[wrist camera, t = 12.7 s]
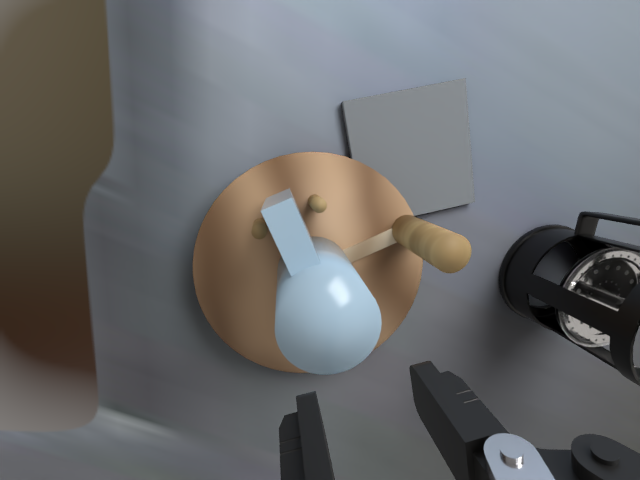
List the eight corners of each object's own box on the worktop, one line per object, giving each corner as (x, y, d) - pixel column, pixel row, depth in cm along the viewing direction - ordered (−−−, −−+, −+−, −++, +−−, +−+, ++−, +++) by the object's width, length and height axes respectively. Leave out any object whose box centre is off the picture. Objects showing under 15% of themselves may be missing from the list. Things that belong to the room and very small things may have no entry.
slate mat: (470, 201, 30) (474, 202, 29) (361, 226, 29) (363, 227, 28) (461, 79, 27) (465, 78, 27) (341, 102, 26) (342, 101, 26)
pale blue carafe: (359, 287, 27) (395, 349, 18) (294, 315, 27) (300, 390, 18) (313, 176, 25) (330, 186, 16) (242, 206, 25) (220, 233, 16)
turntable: (375, 113, 26) (425, 93, 18) (442, 309, 31) (505, 364, 22) (152, 209, 25) (96, 234, 17) (257, 394, 30) (252, 483, 22)
